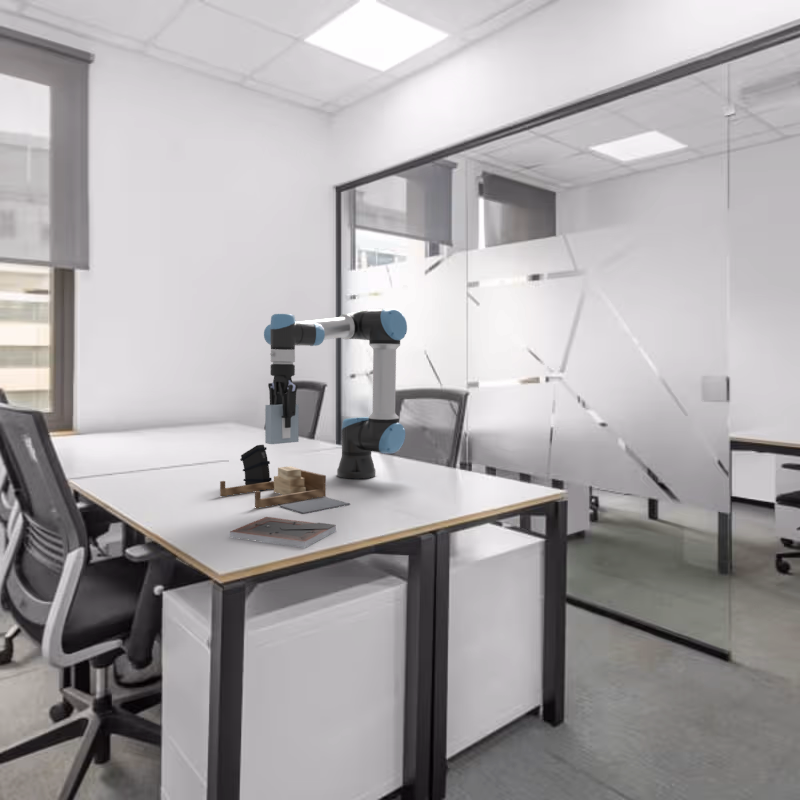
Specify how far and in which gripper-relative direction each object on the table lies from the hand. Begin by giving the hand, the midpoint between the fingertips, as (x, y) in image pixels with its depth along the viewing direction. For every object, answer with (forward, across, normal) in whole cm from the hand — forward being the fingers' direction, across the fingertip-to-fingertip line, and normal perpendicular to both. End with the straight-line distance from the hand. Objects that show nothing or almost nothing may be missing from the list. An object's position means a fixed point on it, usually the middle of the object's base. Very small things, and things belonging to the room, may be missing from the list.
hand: (282, 437), depth 196 cm
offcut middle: (+18, -8, +8) cm, 21 cm away
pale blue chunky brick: (+2, 0, 0) cm, 2 cm away
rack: (+20, -8, +1) cm, 22 cm away
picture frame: (+21, +32, -20) cm, 44 cm away
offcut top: (+15, -8, +8) cm, 19 cm away
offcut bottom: (+21, -8, +8) cm, 24 cm away
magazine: (+21, -26, +5) cm, 33 cm away
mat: (+20, +12, +5) cm, 24 cm away
